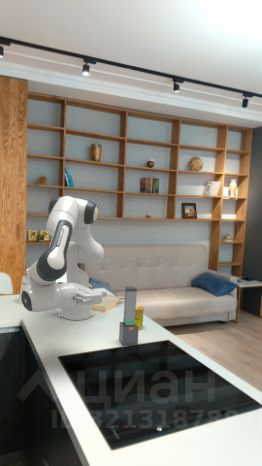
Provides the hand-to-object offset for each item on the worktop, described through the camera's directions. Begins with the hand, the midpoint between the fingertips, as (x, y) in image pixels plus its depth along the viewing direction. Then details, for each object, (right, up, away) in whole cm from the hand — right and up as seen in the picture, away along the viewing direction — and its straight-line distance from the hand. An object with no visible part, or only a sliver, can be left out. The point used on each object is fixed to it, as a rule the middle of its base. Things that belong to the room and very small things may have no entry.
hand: (98, 291), depth 138 cm
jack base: (+11, -25, +12) cm, 30 cm away
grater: (-46, -18, +69) cm, 85 cm away
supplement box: (+15, -24, +31) cm, 42 cm away
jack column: (+12, -17, +11) cm, 24 cm away
